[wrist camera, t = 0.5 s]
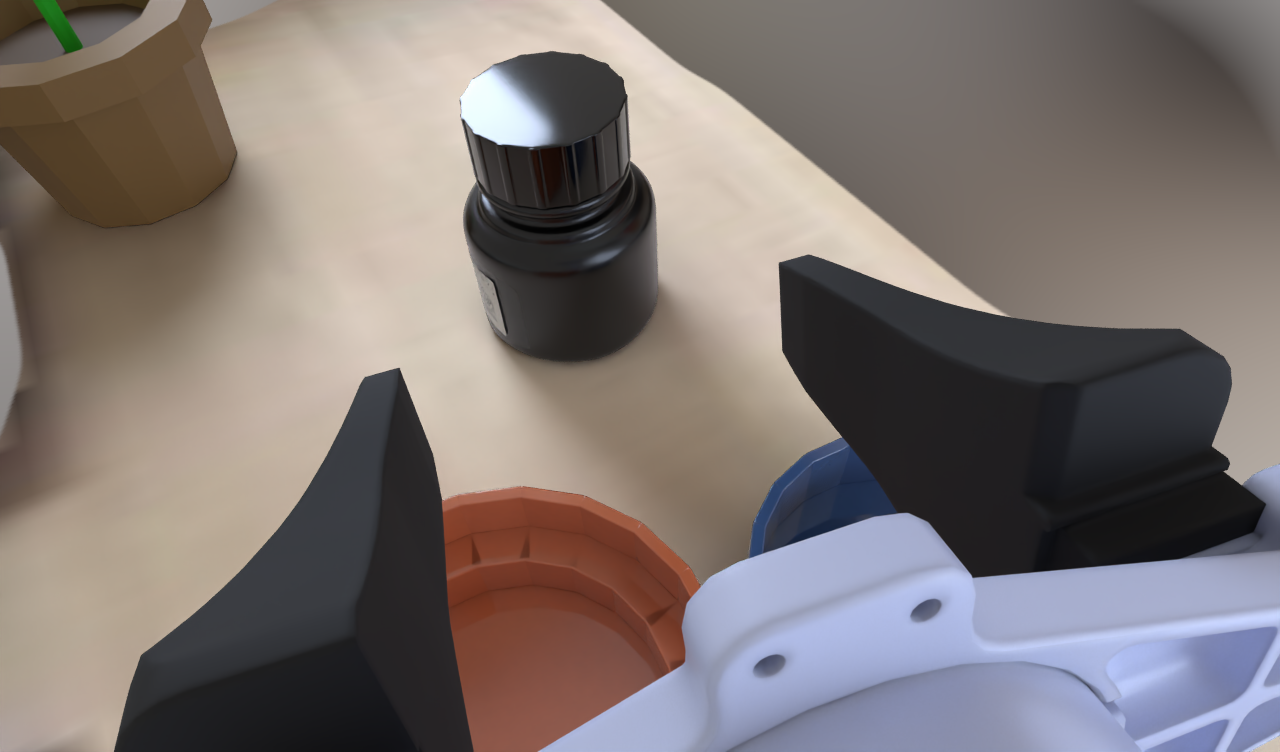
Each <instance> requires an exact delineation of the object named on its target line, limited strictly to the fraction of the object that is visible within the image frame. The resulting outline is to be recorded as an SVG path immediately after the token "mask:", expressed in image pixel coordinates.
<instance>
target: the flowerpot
mask: <svg viewBox="0 0 1280 752" xmlns="http://www.w3.org/2000/svg"><path fill="white" fill-rule="evenodd" d="M211 22H212V18H211V16H210V14H209V12H208V10H207V8H206V5H205V3H204V1H203V0H0V145H1V146H2V147H3V148H4V149H5V150H6V151H7V152H8V153H9V154H10V155H11V156H12V157H13V158H14V159H15V160H16V161H17V162H18V163H19V164H20V165H21V166H22V167H23V168H24V169H25V170H26V171H27V172H28V173H29V174H30V175H31V176H32V177H33V178H34V179H35V180H36V181H37V182H38V183H39V184H40V185H41V186H42V187H43V188H44V189H45V190H46V191H47V192H48V193H49V194H50V195H51V196H52V197H53V198H54V199H55V200H56V201H57V202H58V203H59V204H60V205H61V206H62V207H63V208H64V209H65V210H66V211H67V212H68V213H69V214H71V215H72V216H74V217H76V218H79V219H82V220H84V221H87V222H90V223H93V224H95V225H98V226H101V227H104V228H108V227H119V226H131V225H143V224H151V223H154V222H156V221H159V220H161V219H164V218H166V217H169V216H171V215H174V214H176V213H179V212H181V211H184V210H186V209H189V208H191V207H194V206H196V205H197V204H198V203H200V202H201V201H202V200H203V199H204V198H206V197H207V196H208V195H209V194H210V193H211V192H213V191H214V190H215V189H216V188H217V187H218V186H220V185H221V184H222V183H223V182H224V181H225V180H227V179H228V176H229V173H230V170H231V167H232V165H233V162H234V159H235V156H236V153H237V150H236V147H235V144H234V141H233V139H232V136H231V133H230V130H229V127H228V124H227V121H226V118H225V115H224V112H223V109H222V107H221V104H220V101H219V98H218V95H217V92H216V89H215V86H214V83H213V80H212V77H211V75H210V72H209V69H208V66H207V63H206V60H205V57H204V54H203V51H202V48H201V44H202V42H203V39H204V37H205V35H206V33H207V31H208V28H209V26H210V24H211Z"/></svg>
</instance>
